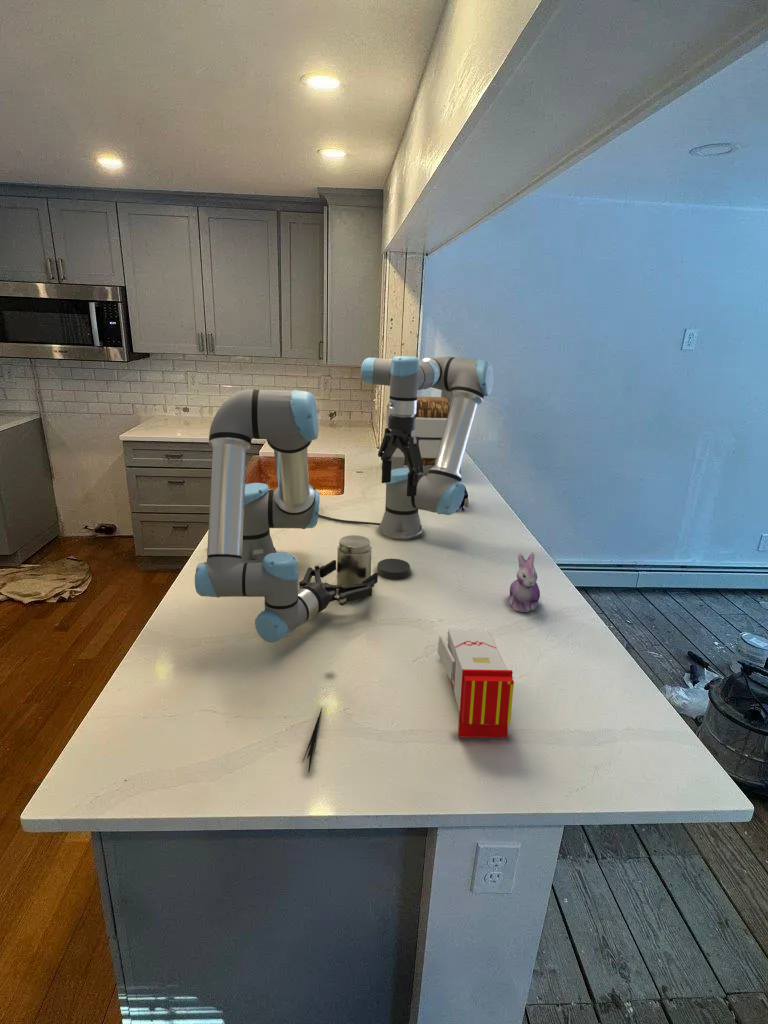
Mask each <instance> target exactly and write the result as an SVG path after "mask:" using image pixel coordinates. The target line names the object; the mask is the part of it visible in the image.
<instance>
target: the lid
mask: <svg viewBox="0 0 768 1024" xmlns="http://www.w3.org/2000/svg"><path fill="white" fill-rule="evenodd" d="M376 566H377V567H376V573H378V576H380V577H382V578H384V579H388V580H402V579H405V578H407V577H408V576H410V573H411V565H410V563H409V562H407V561H406V560H403V559H401V558H386V559H382V560H379V561H378V563H377V565H376Z"/></svg>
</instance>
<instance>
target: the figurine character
mask: <svg viewBox="0 0 768 1024" xmlns="http://www.w3.org/2000/svg"><path fill="white" fill-rule="evenodd" d="M469 505H470V500H469V492H468V490H467V488H466V486H465V491H464V498H463V500H462V503H461V505H460V507H459V508H458V509H461V511H462V512H464V511H465V508H469Z"/></svg>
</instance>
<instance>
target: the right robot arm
mask: <svg viewBox="0 0 768 1024" xmlns="http://www.w3.org/2000/svg"><path fill="white" fill-rule="evenodd" d="M360 377H361V379H362V381H363V382H364V383H366V384H370V385H378V386H386V387H389V401H390V402H388V403H389V413H390V415H389V418H388V428H386V427H385V428H384V433H383V437H382V441H381V444H380V446H379V450H378V451H377V456H378V458H380V460H381V484H385V504H384V505H385V507H384V508H385V509H384V513H383V515H382V519H381V522H370V521H357V520H346V519H340V518H335V517H330V516H325V515H322V514H318V518H322V519H326V520H329V521H334V522H339V523H340V522H341V523H345V524H346V523H347V524H358V525H371V526H378V533H379V534H380V535H381V536H382V537H385V538H387V539H389V540H395V541H410V540H415V539H418V538H420V537H421V536H422V535H423V525H422V524H421V518H420V515H419V510H421V511H426V512H429V513H435V514H437V515H445V516H452V515H453V514H455V513H456V512H457V511H458V510H459V509H460V508H459V507H460V505H461V503H462V500H463V498H464V491H465V487H466V485H465V484H464V483H463V482H462V481H463V477H462V475H461V474H459V470H460V467H461V468H462V462H463V459H464V455H465V451H466V447H467V444H468V441H469V437H470V433H471V430H472V427H473V426H472V425H473V422H474V417H475V414H476V410H477V407H478V405H481V404H482V403H483V401H484V398H485V397H488V396H491V393H492V391H493V388H494V370H493V366H492V364H491V362H490V361H488V360H486V359H479V358H469V357H467V358H466V357H456V356H440V357H439V356H438V357H424V358H421V360H420V359H419V358H418V357H416V356H411V355H396V356H393V357H392V358H381V357H379V358H378V357H367V358H365V359H364V360H363V362H362V364H361V366H360ZM430 388H432V389H436V390H440V391H442V390H444V391H450V393H449V395H450V396H451V398H452V403H451V406H450V410H449V414H448V417H447V421H446V425H445V428H444V432H443V436H442V439H441V443H440V447H439V450H438V454H437V458H436V461H435V465H434V466H431V467H430V468H428V469H427V470H428V471H427V474H425V475H424V474H423V473H424V471H425V470H424V469H425V468H424V466H423V464H422V459H421V454H420V449H419V438H418V436H417V437H412V434H411V432H412V431H413V430H414V429H415V424H416V417H415V416H414V415H415V414H416V411H417V396H418V391H420V390H421V391H422V390H427V389H430ZM408 446H409V448H408ZM397 448H399V449H400V450H401V452H403V453H404V456H405V459H406V462H407V465H408V466H407V465H406V467H405V466H404V468H397V469H393V470H391V465H392V461H391V457H392V455H393V453H394V452H395V450H396V449H397ZM388 460H389V461H388Z"/></svg>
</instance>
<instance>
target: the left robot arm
mask: <svg viewBox="0 0 768 1024" xmlns="http://www.w3.org/2000/svg"><path fill="white" fill-rule="evenodd" d="M318 436H319V416H318V405H317V402H316V398H315V396H314V394H313V393H311V392H310V391H307V390H306V391H305V390H299V389H291V390H290V389H255V388H247V389H242V390H239V391H237V392H235V393H234V394H231V395H230V396H229V397H228V398H227V399H226V400H225V401H224V402H223V403H222V404H221V405H220V407H218V410H217V411H216V413H215V415H214V417H213V419H212V421H211V424H210V428H209V432H208V446H209V447H210V448H211V449H212V460H211V475H210V476H211V477H210V495H209V513H208V515H209V516H208V531H207V532H208V533H207V549H206V557H207V558H206V561H205V562H199V563H198V564H197V566H196V567H195V574H194V588H195V591H196V594H197V595H199V596H200V597H207V598H209V597H210V598H234V597H235V598H238V597H239V598H240V597H242V598H243V597H246V598H255V597H256V598H260V597H261V598H264V610H261V611H260V613H258V614H257V616H255V617H256V618H255V620H254V627H255V630H256V633H257V634H258V635H259V637H260V638H261V639H262V640H264V641H265V642H268V643H276V642H278V641H281V640H282V639H284V638H287V637H288V636H289V635H290V634H292V633H293V632H294V631H295V630H296V629H299V627H301V626H302V625H303V624H305V623H307V622H308V621H309V620H311V619H312V618H314V617H315V616H316V615H318V614H320V613H321V612H323V611H324V610H325V609H326V608H327V607H329V605H330V603H331V602H335V601H337V602H338V606H341V607H342V606H344V605H347V604H348V603H352V602H356V601H360V600H359V599H361V600H364V599H366V598H369V597H373V588H374V587H375V585H376V584H377V583H379V581H378V580H379V574H378V573H377V571H375V572H374V573H372V574H371V576H370V577H368V578H367V579H365V580H364V581H363V583H362V584H354V585H346V586H341V585H337V584H331V583H329V582H326V581H325V582H322V579H323V578H325V577H327V576H328V575H329V574H331V573H333V572H335V571H337V559H333V560H332V561H330V562H328V563H326V564H325V565H321V566H320V565H314V568H313V567H311V566H309V567H307V569H306V571H305V573H304V576H303V578H302V579H301V580H300V581H299V569H298V560H297V558H296V556H295V555H293V554H292V553H289V552H286V551H277V550H276V547H275V546H274V543H273V540H272V536H271V532H270V531H271V529H299V530H300V529H301V530H306V529H313V528H315V527H316V526H317V525H318V520H319V517H318V515H319V512H320V502H321V501H320V498H321V497H320V492H319V490H316V489H315V490H313V488H312V487H311V486H312V485H311V484H310V479H309V476H310V475H309V456H308V455H309V454H308V448H309V447H310V445H311V444H312V442H313V441H316V440H317V439H318ZM253 439H254V440H266V443H267V445H268V446H269V447H270V448H271V449H272V450H273V454H274V455H273V456H274V462H275V469H276V470H275V471H276V479H277V487H276V489H270V487H269V485H268V484H267V483H262V482H251V483H246V472H247V471H246V470H247V452H248V451H250V450H251V448H252V440H253ZM313 577H314V581H315V582H314V581H312V578H313ZM311 581H312V582H311ZM337 589H338V594H337ZM363 598H364V599H363Z"/></svg>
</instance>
